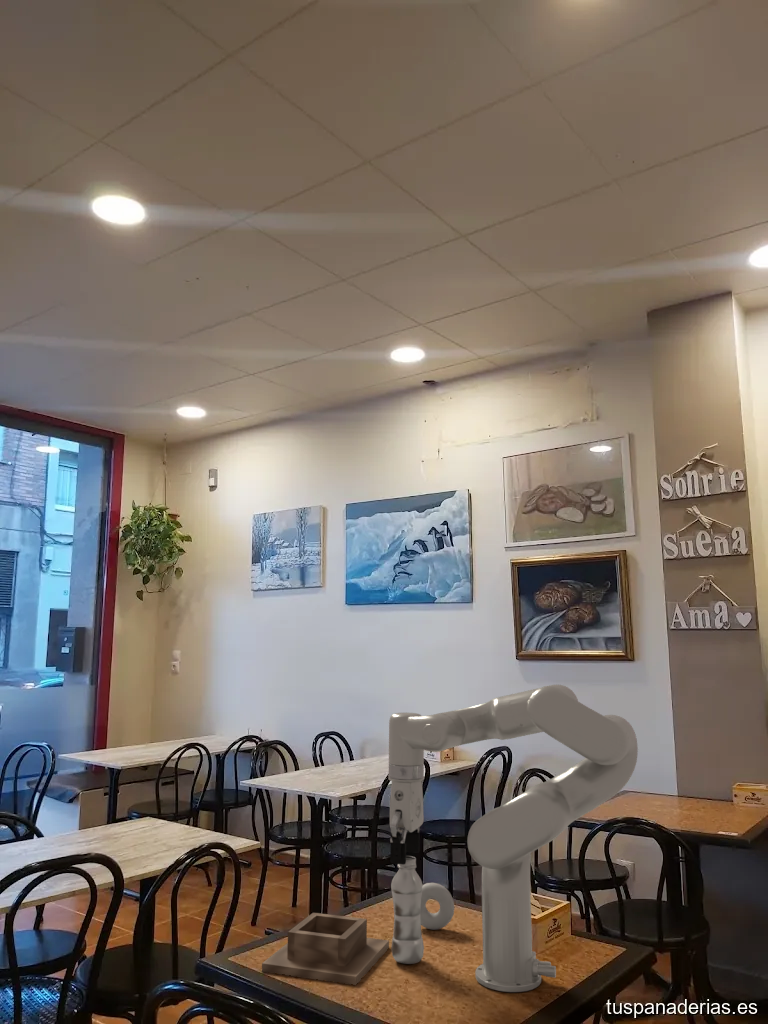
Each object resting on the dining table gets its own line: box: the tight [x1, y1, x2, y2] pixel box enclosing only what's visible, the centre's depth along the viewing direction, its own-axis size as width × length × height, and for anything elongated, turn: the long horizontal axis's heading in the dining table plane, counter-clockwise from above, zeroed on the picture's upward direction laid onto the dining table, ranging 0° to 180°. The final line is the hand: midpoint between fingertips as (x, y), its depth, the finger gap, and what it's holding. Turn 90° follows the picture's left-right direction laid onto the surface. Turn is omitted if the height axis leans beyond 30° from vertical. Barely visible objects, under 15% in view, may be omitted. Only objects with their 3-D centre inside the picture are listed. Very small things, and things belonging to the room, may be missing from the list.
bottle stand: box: [261, 912, 390, 986], centre depth 160 cm, size 20×20×6 cm
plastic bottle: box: [390, 855, 425, 965], centre depth 159 cm, size 6×7×20 cm
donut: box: [420, 882, 455, 931], centre depth 177 cm, size 10×4×10 cm, turn 80°
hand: (405, 857), depth 161 cm, fingers open, 9 cm apart
